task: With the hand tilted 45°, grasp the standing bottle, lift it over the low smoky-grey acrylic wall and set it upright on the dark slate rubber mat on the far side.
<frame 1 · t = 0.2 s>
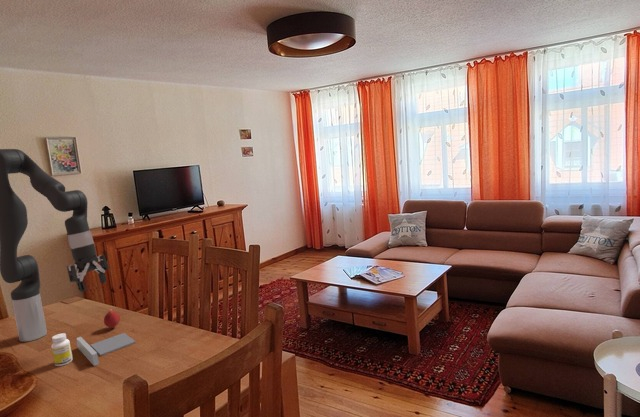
hand: (93, 287, 146), 22 cm above the table, tool pointing down, fingers open, 8 cm apart
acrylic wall: (88, 355, 140), on the table
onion: (113, 328, 162), on the table
supplement bottle: (63, 362, 136), on the table
slate mat: (113, 344, 147), on the table
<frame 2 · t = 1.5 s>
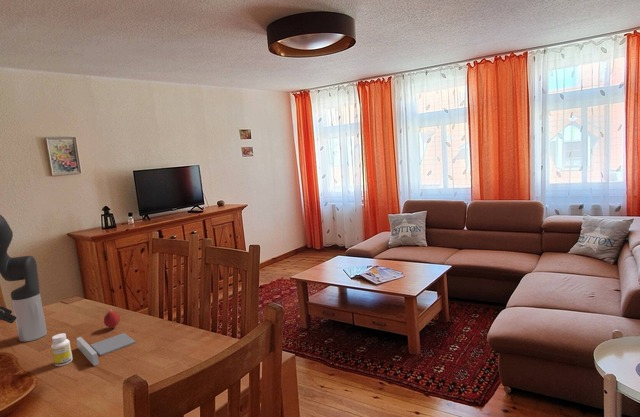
hand: (12, 317, 126), 21 cm above the table, tool tilted 45°, fingers open, 8 cm apart
nothing on the table moved.
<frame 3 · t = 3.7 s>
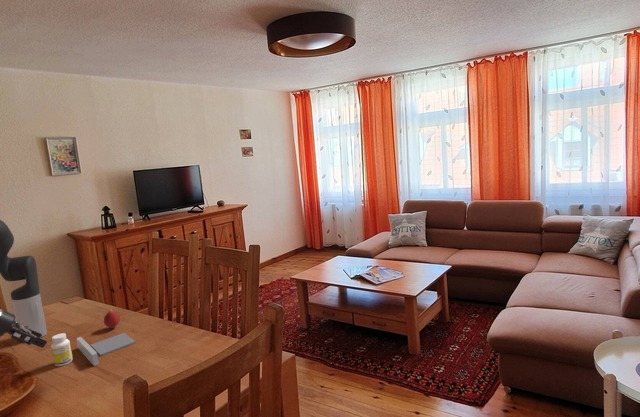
hand: (42, 340, 132), 10 cm above the table, tool tilted 45°, fingers open, 8 cm apart
nothing on the table moved.
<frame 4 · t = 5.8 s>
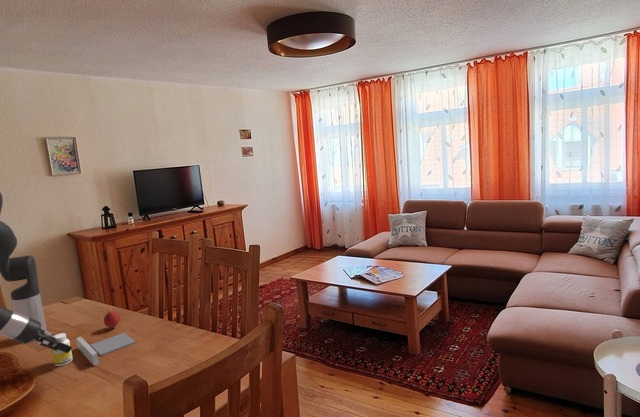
hand: (67, 347, 137), 5 cm above the table, tool tilted 45°, fingers closed on supplement bottle, 5 cm apart
supplement bottle: (63, 362, 136), on the table, touching gripper
everything else where it was.
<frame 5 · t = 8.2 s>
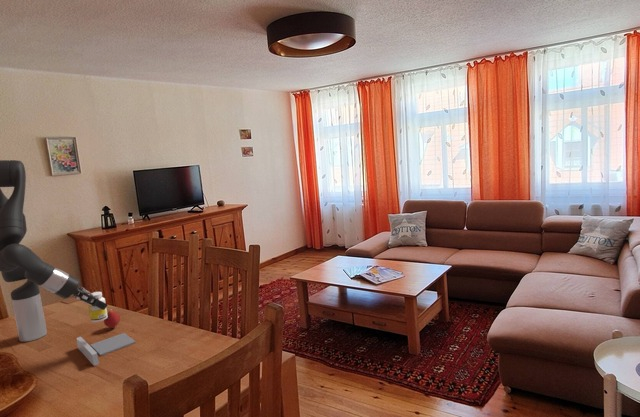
hand: (103, 305, 144), 16 cm above the table, tool tilted 45°, fingers closed on supplement bottle, 5 cm apart
supplement bottle: (99, 319, 144), point 11 cm above the table, touching gripper
everything else where it was.
when the fingers open (6 cm above the table, at t = 10.7 s): supplement bottle drops 1 cm, resting on slate mat.
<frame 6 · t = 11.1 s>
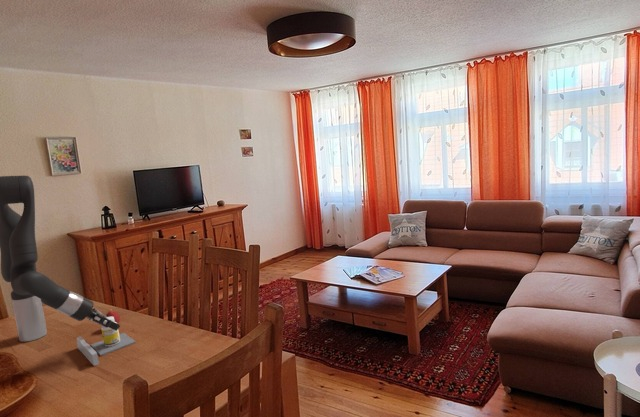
hand: (114, 324, 147), 7 cm above the table, tool tilted 45°, fingers open, 8 cm apart
supplement bottle: (112, 343, 147), resting on slate mat
everything else where it was.
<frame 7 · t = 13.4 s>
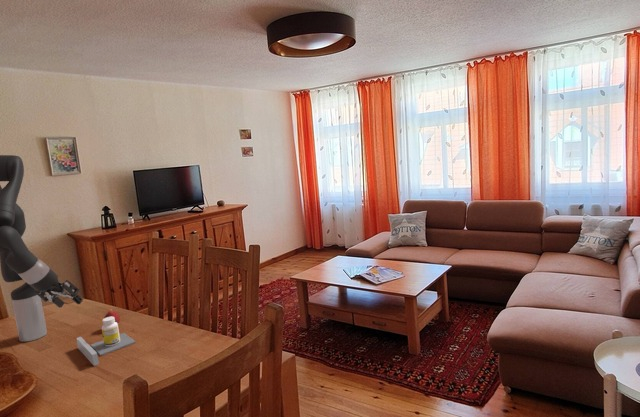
hand: (71, 303, 141), 18 cm above the table, tool tilted 35°, fingers open, 8 cm apart
nothing on the table moved.
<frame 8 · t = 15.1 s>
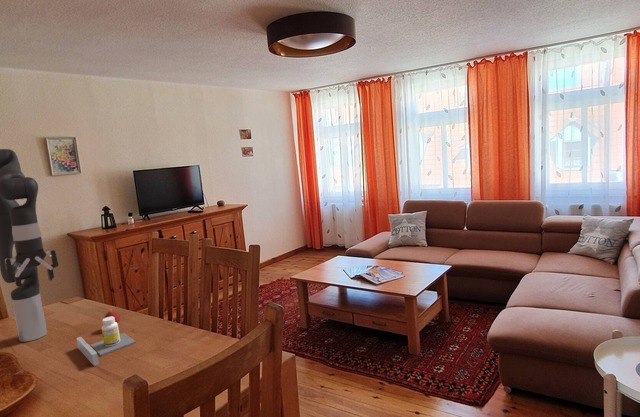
hand: (35, 283, 135), 28 cm above the table, tool pointing down, fingers open, 8 cm apart
nothing on the table moved.
at the end: supplement bottle inside the target area on the slate mat (0.4 cm from its centre), point 0.3 cm above the slate mat's base; supplement bottle tilted 0°; the gripper is holding nothing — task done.
